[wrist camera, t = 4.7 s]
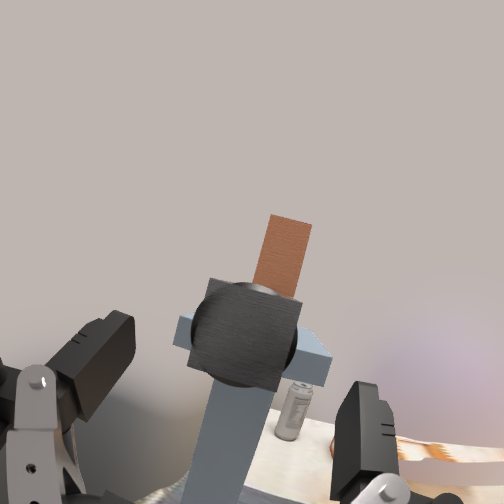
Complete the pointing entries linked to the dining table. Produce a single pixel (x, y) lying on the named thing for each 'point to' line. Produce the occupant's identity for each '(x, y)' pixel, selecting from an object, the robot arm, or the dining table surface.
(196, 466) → the shelf stand
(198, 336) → the hammer
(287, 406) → the energy drink can
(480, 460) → the dining table surface
